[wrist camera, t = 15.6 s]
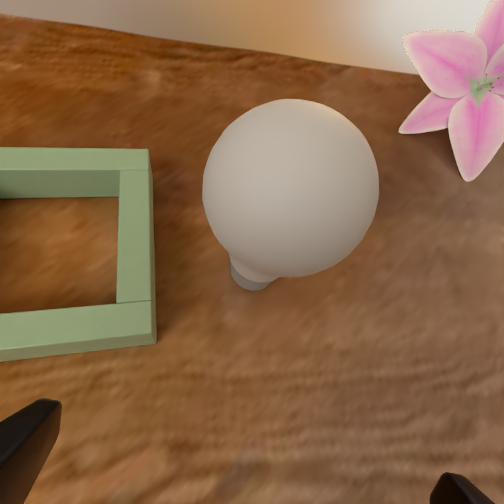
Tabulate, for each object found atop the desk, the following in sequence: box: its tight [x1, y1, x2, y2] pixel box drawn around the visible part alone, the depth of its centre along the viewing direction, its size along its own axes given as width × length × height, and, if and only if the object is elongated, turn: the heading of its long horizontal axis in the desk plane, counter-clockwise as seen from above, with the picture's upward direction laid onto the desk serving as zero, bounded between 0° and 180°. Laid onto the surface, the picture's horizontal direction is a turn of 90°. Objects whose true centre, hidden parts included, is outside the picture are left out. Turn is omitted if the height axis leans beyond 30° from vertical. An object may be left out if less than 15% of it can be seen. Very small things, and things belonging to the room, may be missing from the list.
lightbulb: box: [202, 99, 379, 291], centre depth 14 cm, size 6×6×11 cm
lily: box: [399, 0, 504, 182], centre depth 25 cm, size 12×12×10 cm
